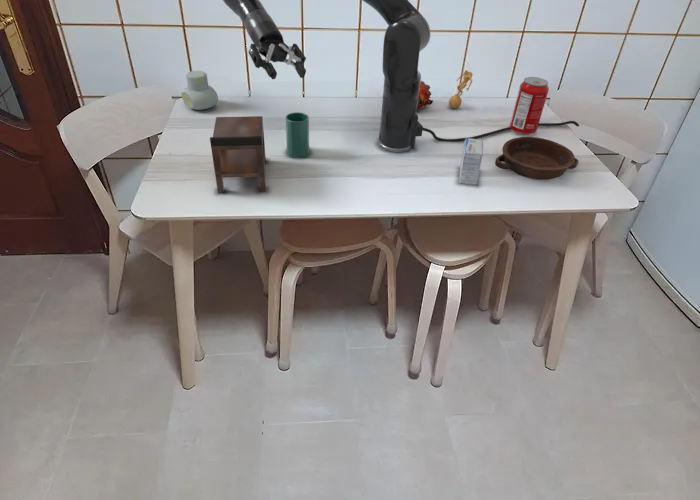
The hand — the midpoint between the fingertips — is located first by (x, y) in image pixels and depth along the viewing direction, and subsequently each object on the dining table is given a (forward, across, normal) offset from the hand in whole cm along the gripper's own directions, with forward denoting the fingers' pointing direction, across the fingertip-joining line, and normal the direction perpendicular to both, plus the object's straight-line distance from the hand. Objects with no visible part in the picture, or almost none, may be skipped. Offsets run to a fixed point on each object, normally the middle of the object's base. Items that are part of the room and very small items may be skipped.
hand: (289, 76), depth 128 cm
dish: (+48, +47, -11) cm, 68 cm away
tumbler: (+15, 0, +12) cm, 19 cm away
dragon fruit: (+7, +47, +9) cm, 48 cm away
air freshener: (-21, -10, +32) cm, 39 cm away
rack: (+18, -18, +13) cm, 29 cm away
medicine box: (+43, +29, -6) cm, 52 cm away
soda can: (+32, +62, -6) cm, 71 cm away
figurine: (+13, +58, +4) cm, 59 cm away
